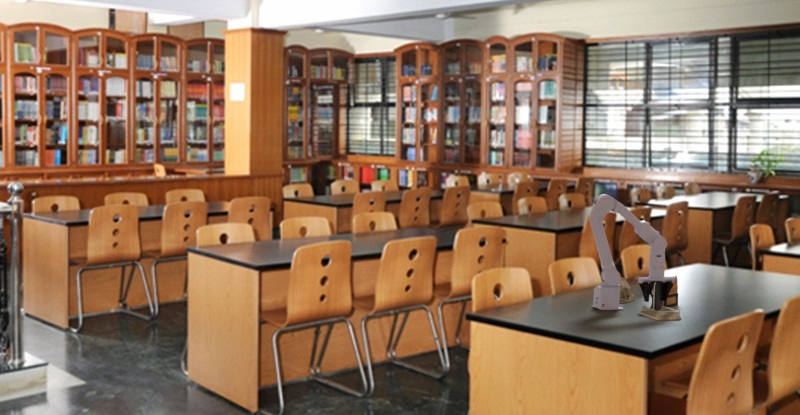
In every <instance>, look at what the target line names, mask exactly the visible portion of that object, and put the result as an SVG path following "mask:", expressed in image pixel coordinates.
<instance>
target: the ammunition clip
mask: <svg viewBox="0 0 800 415" xmlns="http://www.w3.org/2000/svg"><path fill="white" fill-rule="evenodd" d="M670 277H674V282H673V287H672V288H671V290H670V292H669V295H668V298H667V301H663V306H666V307H669V308H673V307H679V306H678V305H679V293H678V290H679V289H678V287H679V286H678V277H677V275H675V276H674V275H673V276H670Z"/></svg>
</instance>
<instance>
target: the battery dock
mask: <svg viewBox="0 0 800 415" xmlns="http://www.w3.org/2000/svg"><path fill="white" fill-rule="evenodd" d="M641 308H642V309H641V311H639V313H638V314H639V315H642V316H643V317H646V318H650V319H653V320H655V321H667V320H668V321H670V320H671V321H672V320H674V321H675V320H682V316H681V312H680V310H679V309H678V310H677V309H674V308H673V307H670V308H669V307H666V306H661V310H659V311H657V310H654V309H651V308H650V307H648V306H642V307H641Z"/></svg>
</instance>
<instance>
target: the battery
mask: <svg viewBox="0 0 800 415" xmlns="http://www.w3.org/2000/svg"><path fill="white" fill-rule="evenodd" d="M648 284H649V285H651V288H650V293H649V296H650V297H651V305H650V307H649V308H651V309H654V310H657V311H661V306H663V295H664V282H663V281H652V282H650V283H648Z"/></svg>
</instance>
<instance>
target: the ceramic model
mask: <svg viewBox="0 0 800 415" xmlns="http://www.w3.org/2000/svg"><path fill="white" fill-rule="evenodd" d="M619 284H620V299H619V304H627V303H631V302H633V301H634V300H635V293H634V292H633V293H631V290H632V288H631V286H630V284H629V282H628V281H627V280H626V279H625V277H622V276H621V280H620V282H619Z"/></svg>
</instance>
